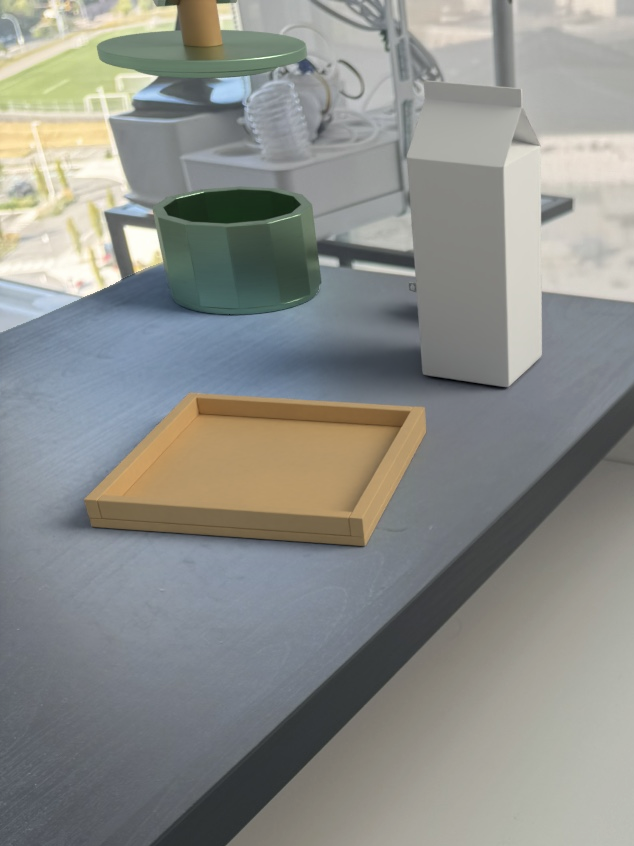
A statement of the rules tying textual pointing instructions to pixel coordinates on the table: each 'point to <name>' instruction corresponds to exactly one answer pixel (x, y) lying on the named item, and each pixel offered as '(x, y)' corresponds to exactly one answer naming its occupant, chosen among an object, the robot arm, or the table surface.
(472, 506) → the table surface
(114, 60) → the lid
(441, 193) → the milk carton
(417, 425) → the tray
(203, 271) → the tin
